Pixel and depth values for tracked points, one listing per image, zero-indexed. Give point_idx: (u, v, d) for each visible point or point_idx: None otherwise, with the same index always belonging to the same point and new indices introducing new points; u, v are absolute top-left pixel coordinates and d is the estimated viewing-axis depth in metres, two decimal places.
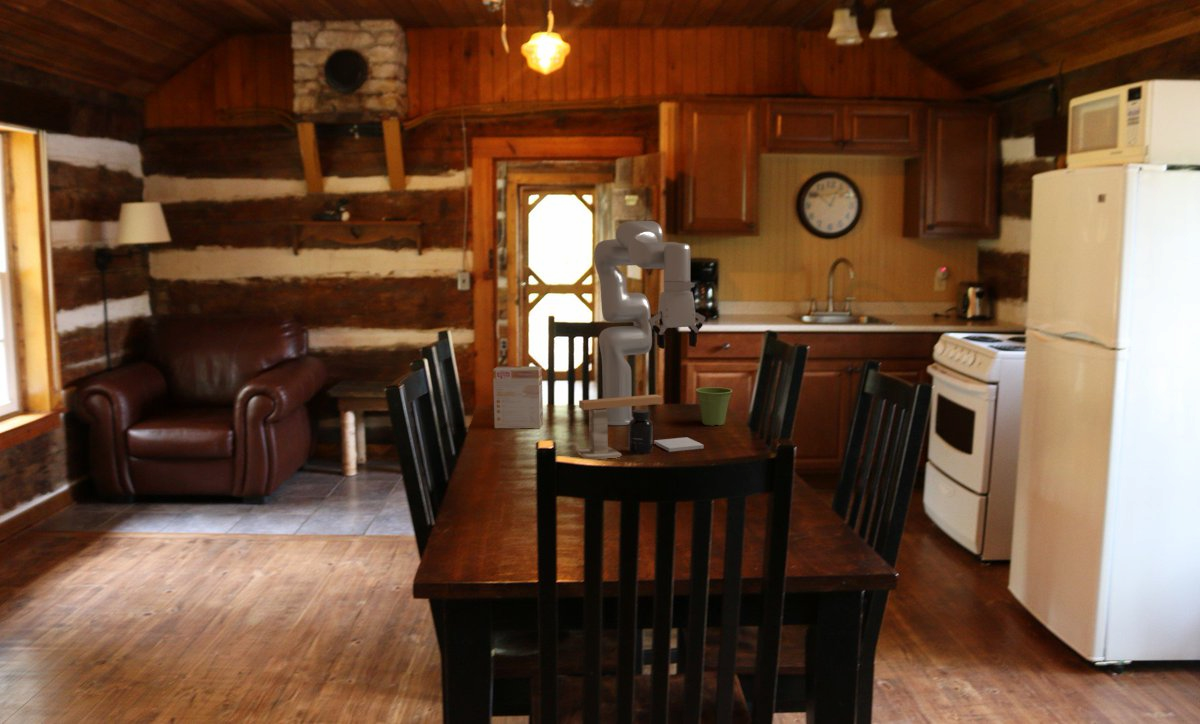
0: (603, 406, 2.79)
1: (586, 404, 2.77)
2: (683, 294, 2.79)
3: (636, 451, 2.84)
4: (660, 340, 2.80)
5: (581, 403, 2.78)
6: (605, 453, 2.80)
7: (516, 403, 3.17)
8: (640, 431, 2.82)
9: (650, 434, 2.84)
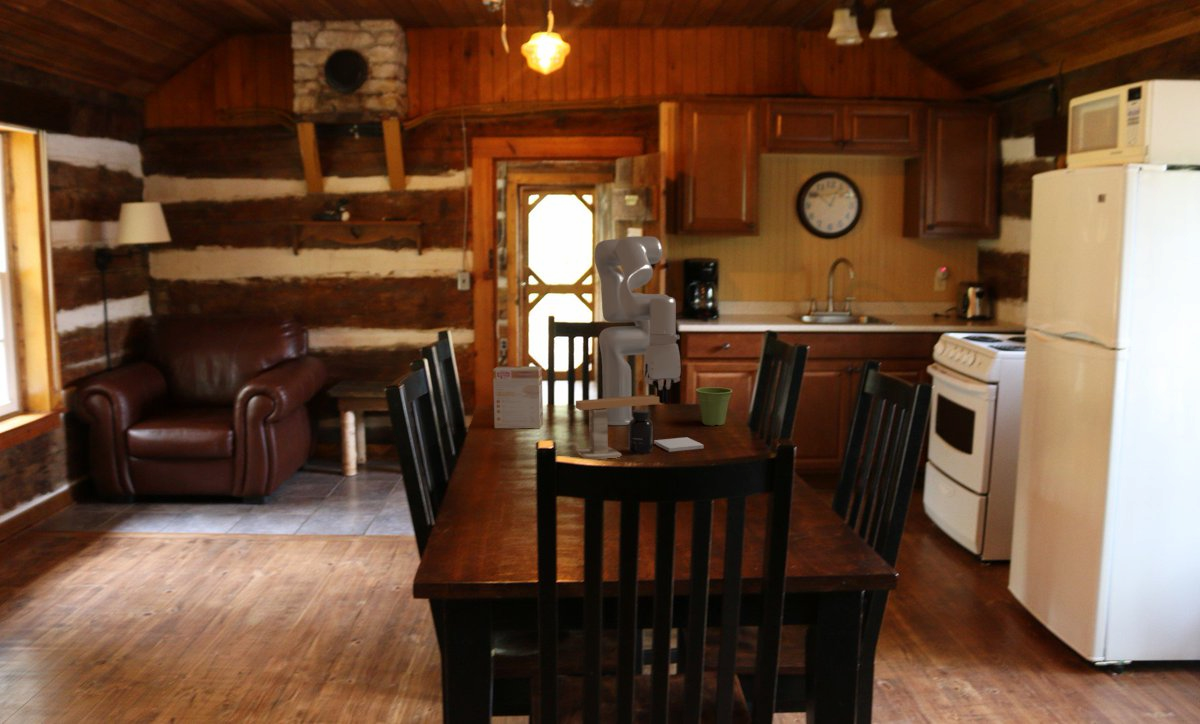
0: (600, 407, 2.78)
1: (583, 404, 2.76)
2: (668, 347, 2.83)
3: (636, 451, 2.84)
4: (660, 395, 2.86)
5: (578, 403, 2.78)
6: (605, 453, 2.80)
7: (516, 403, 3.17)
8: (640, 431, 2.82)
9: (650, 434, 2.84)
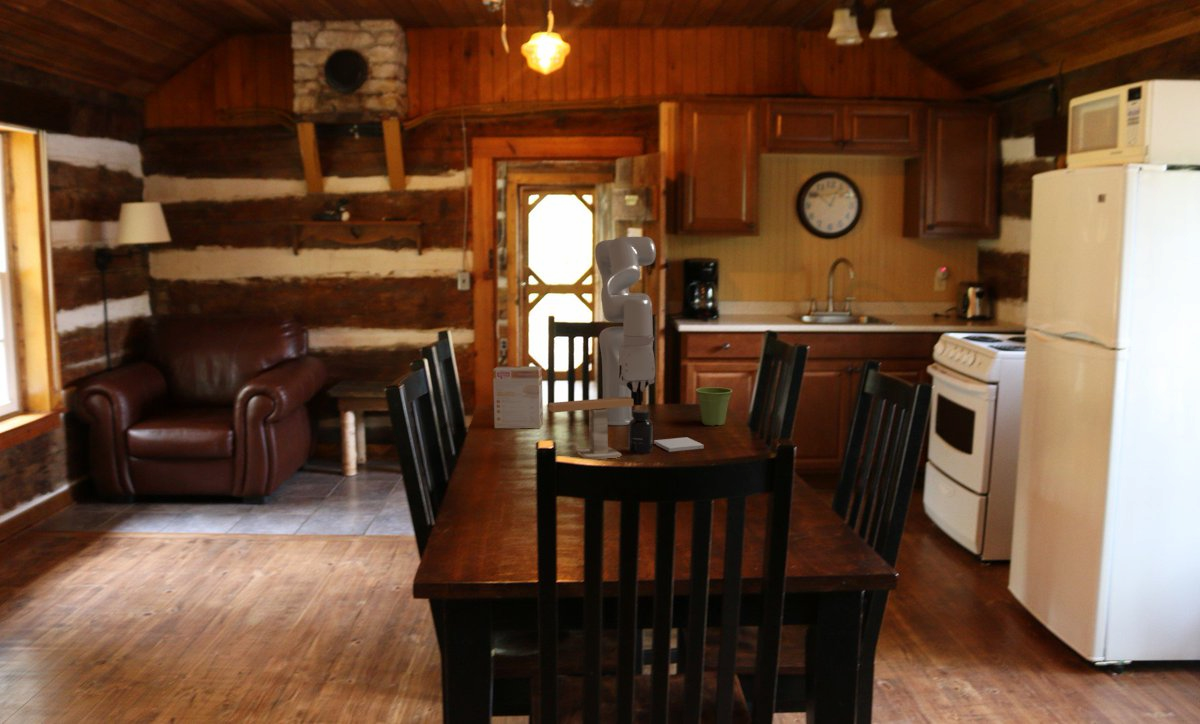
0: (573, 409, 2.75)
1: (555, 406, 2.73)
2: (643, 348, 2.80)
3: (636, 451, 2.84)
4: (634, 397, 2.83)
5: (550, 405, 2.75)
6: (605, 453, 2.80)
7: (516, 403, 3.18)
8: (640, 431, 2.82)
9: (650, 434, 2.84)
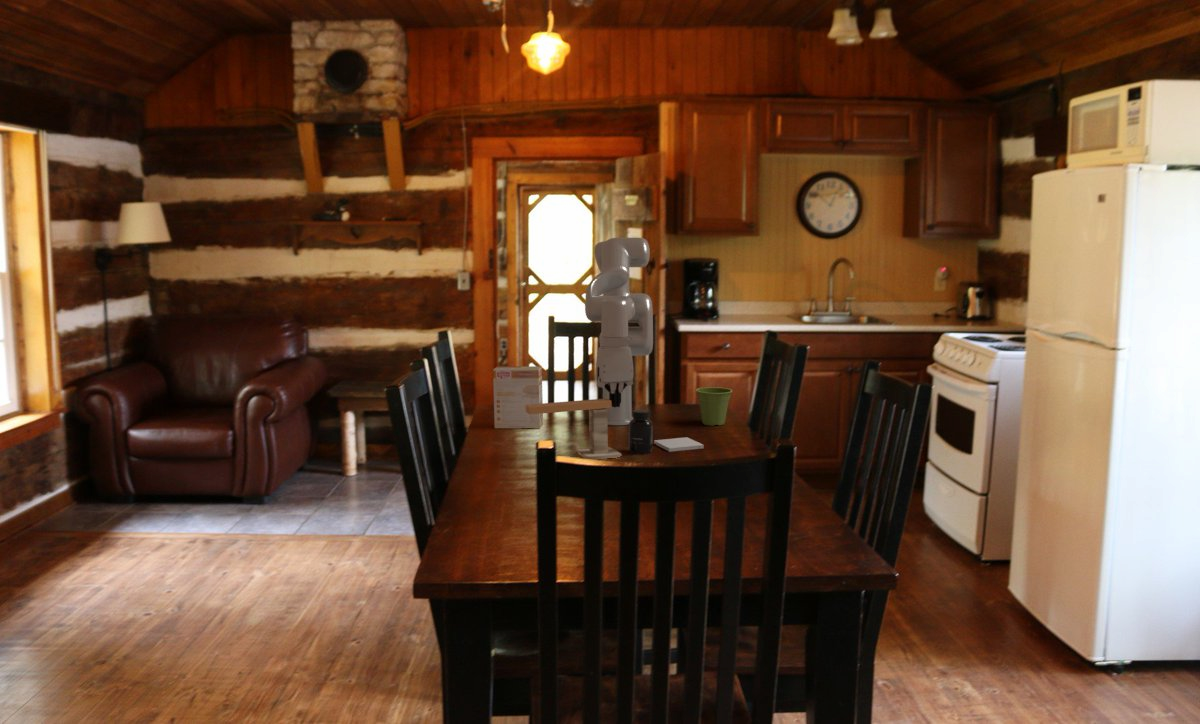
0: (550, 411, 2.73)
1: (532, 408, 2.71)
2: (621, 350, 2.77)
3: (636, 451, 2.84)
4: (612, 399, 2.80)
5: (527, 407, 2.73)
6: (605, 453, 2.80)
7: (516, 403, 3.18)
8: (640, 431, 2.82)
9: (650, 434, 2.84)
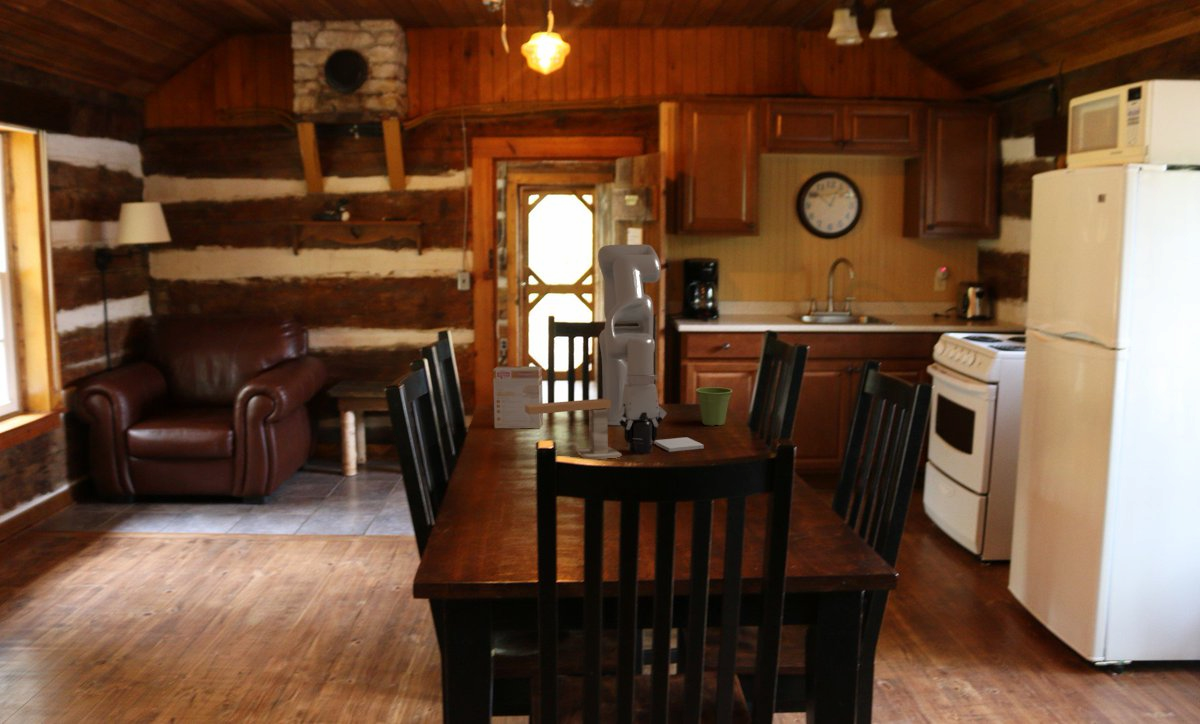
0: (549, 411, 2.73)
1: (531, 408, 2.71)
2: (646, 387, 2.82)
3: (636, 451, 2.83)
4: (627, 435, 2.84)
5: (527, 407, 2.73)
6: (605, 453, 2.80)
7: (516, 403, 3.18)
8: (639, 431, 2.82)
9: (650, 434, 2.84)
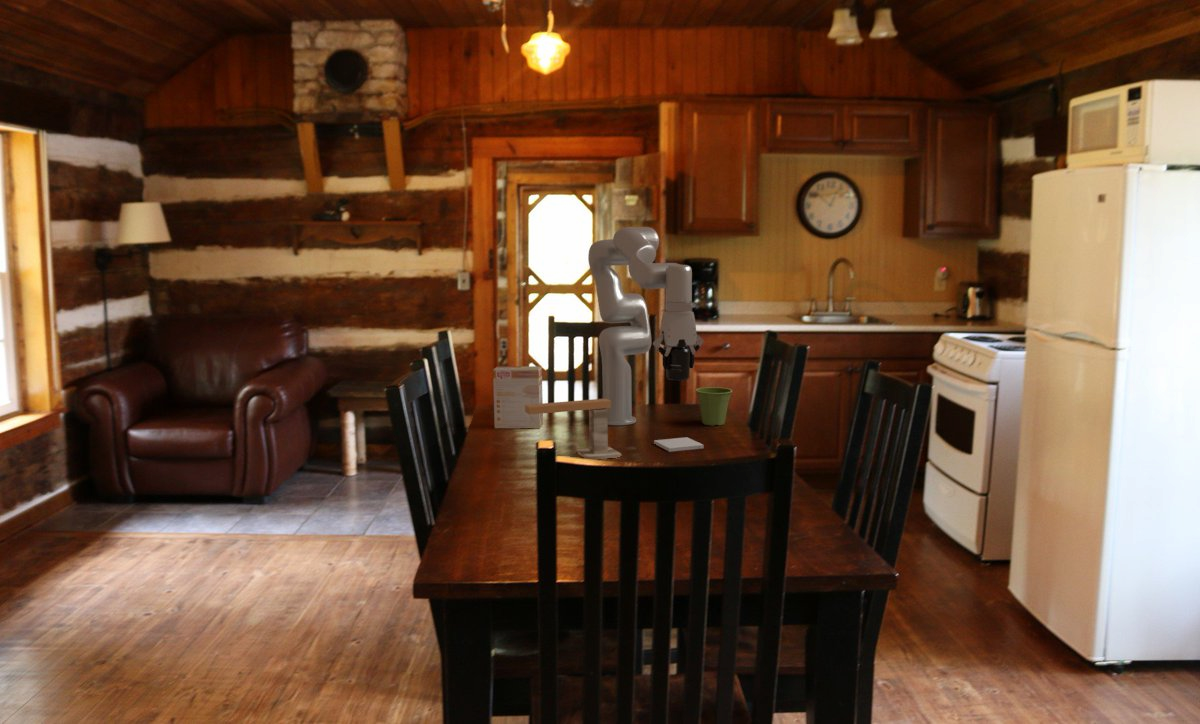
0: (549, 411, 2.73)
1: (531, 408, 2.71)
2: (685, 314, 2.85)
3: (674, 378, 2.87)
4: (666, 361, 2.87)
5: (527, 407, 2.73)
6: (605, 453, 2.80)
7: (516, 403, 3.17)
8: (678, 358, 2.86)
9: (688, 361, 2.87)
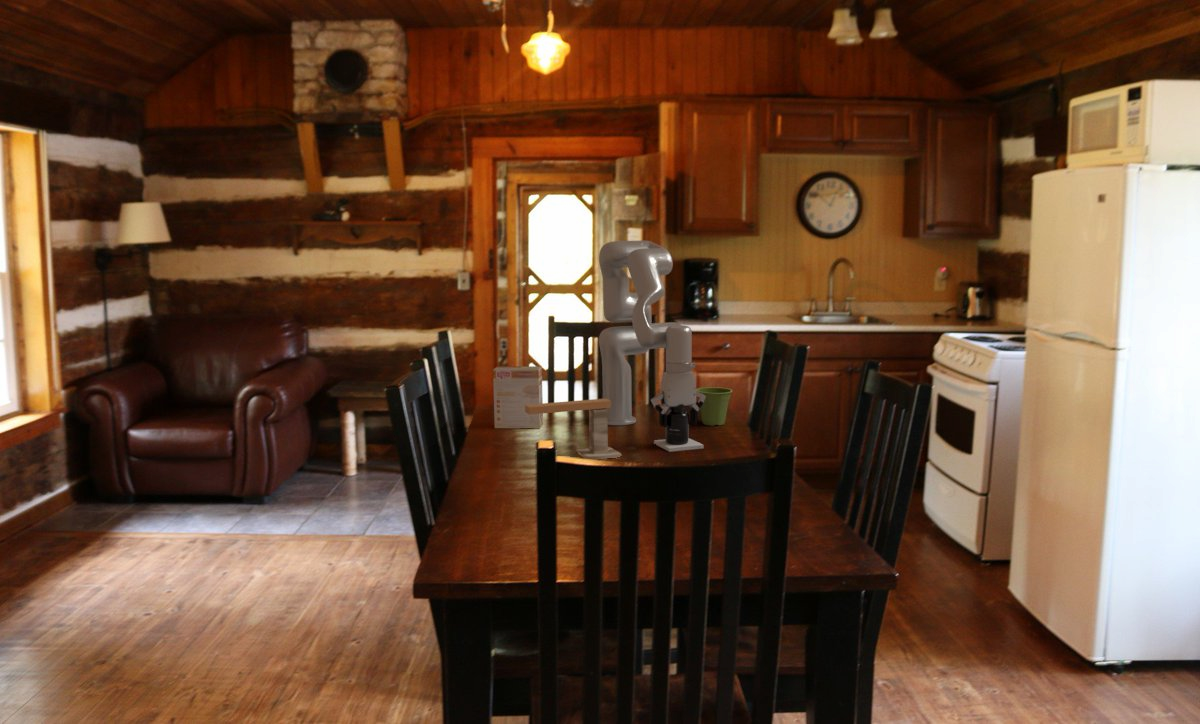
0: (549, 411, 2.73)
1: (531, 408, 2.71)
2: (685, 375, 2.88)
3: (673, 442, 2.90)
4: (662, 419, 2.89)
5: (527, 407, 2.73)
6: (605, 453, 2.80)
7: (516, 403, 3.17)
8: (677, 423, 2.89)
9: (687, 425, 2.90)
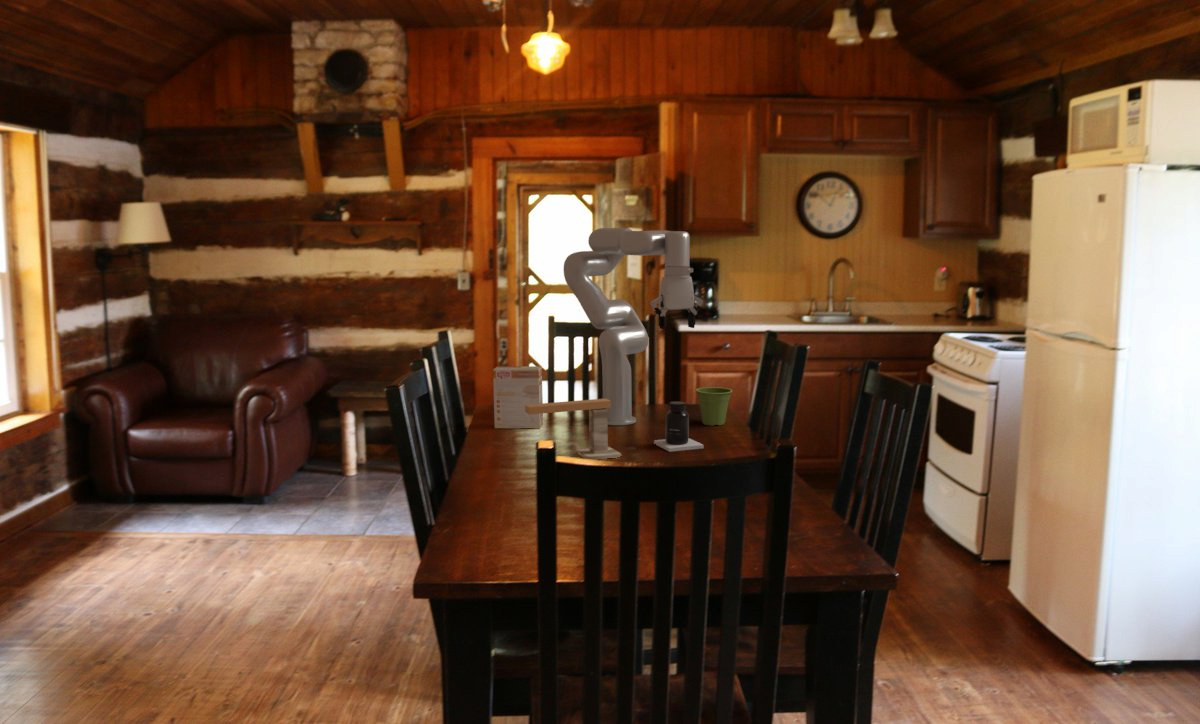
0: (549, 411, 2.73)
1: (531, 408, 2.71)
2: (683, 278, 2.99)
3: (673, 442, 2.90)
4: (661, 321, 3.00)
5: (527, 407, 2.73)
6: (605, 453, 2.80)
7: (516, 403, 3.18)
8: (677, 423, 2.89)
9: (687, 425, 2.90)
